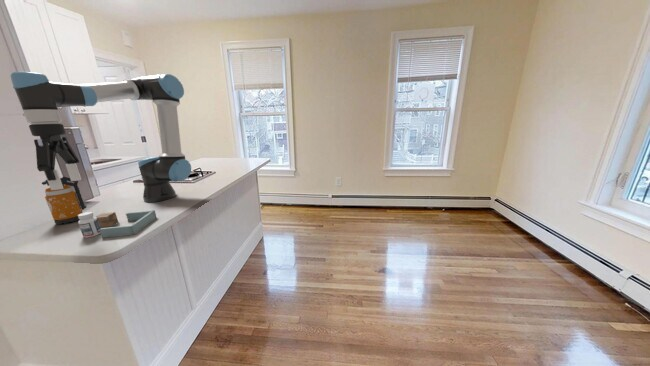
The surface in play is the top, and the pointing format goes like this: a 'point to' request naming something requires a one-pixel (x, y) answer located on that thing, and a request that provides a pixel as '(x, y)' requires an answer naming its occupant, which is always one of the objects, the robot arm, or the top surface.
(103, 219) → the tan block
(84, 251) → the top surface
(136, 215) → the box
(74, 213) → the canister
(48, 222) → the top surface
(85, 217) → the pill bottle
